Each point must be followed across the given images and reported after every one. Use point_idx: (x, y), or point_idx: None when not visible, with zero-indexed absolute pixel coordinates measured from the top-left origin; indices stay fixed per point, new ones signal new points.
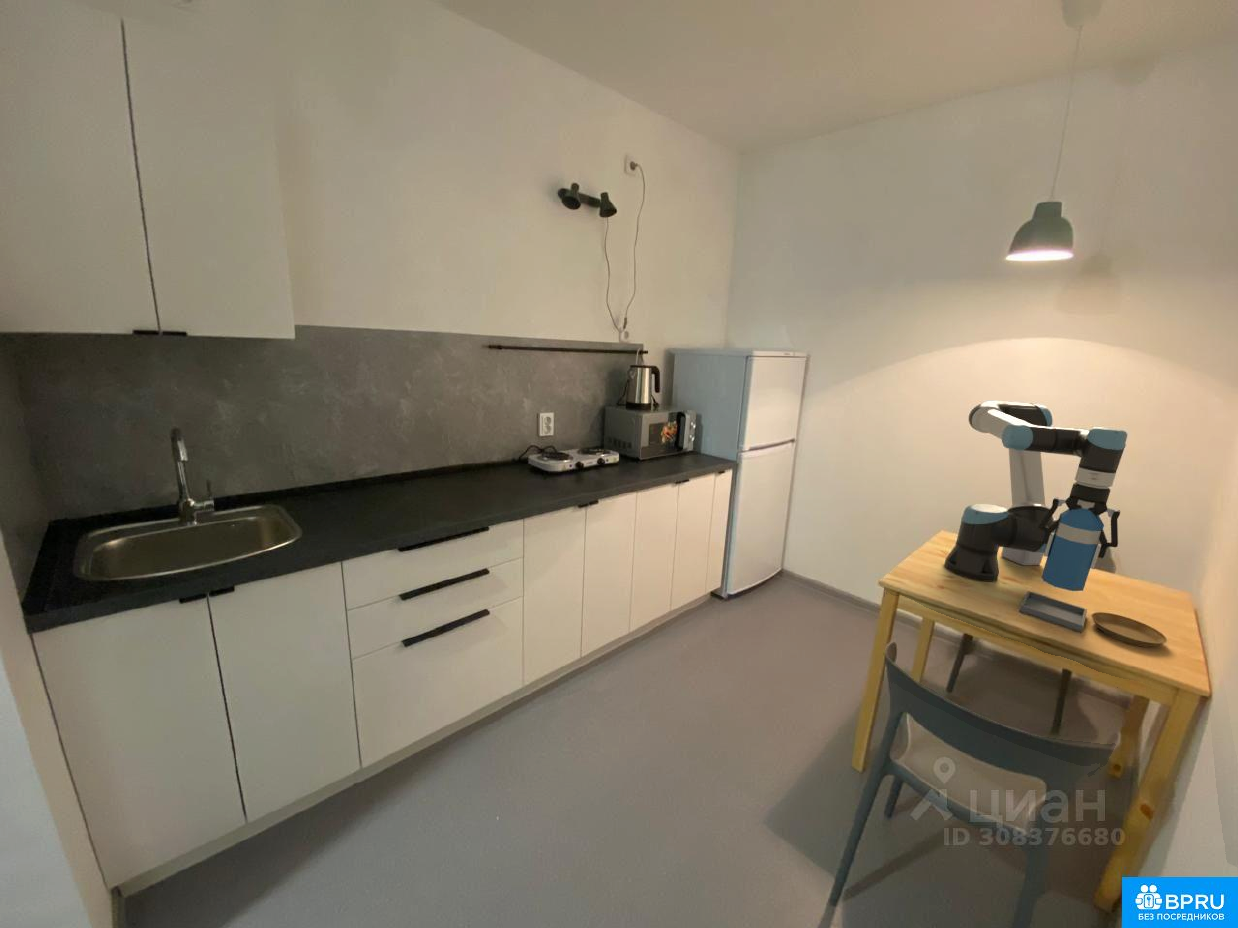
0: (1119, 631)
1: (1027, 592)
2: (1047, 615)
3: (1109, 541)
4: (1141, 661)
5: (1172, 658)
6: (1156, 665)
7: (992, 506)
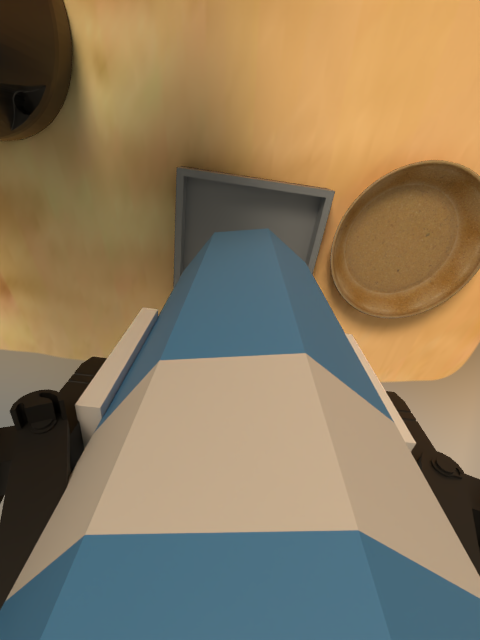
0: (390, 238)
1: (176, 188)
2: None
3: (474, 513)
4: (377, 361)
5: (453, 305)
6: (400, 358)
7: None
